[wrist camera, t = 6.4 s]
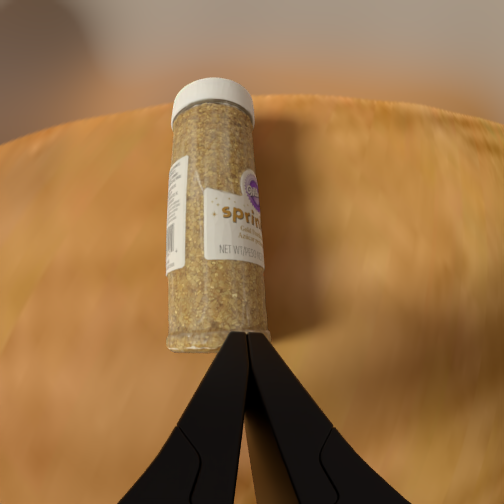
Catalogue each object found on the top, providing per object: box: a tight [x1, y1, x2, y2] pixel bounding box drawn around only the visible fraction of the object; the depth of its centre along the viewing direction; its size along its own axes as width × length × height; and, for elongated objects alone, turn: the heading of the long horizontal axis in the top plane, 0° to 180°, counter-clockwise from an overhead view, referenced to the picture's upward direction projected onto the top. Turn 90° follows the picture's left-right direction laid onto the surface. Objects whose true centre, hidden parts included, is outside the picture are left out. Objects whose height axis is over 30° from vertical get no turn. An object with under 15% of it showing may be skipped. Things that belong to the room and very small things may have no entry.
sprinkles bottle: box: [166, 78, 271, 353], centre depth 15 cm, size 5×5×14 cm
